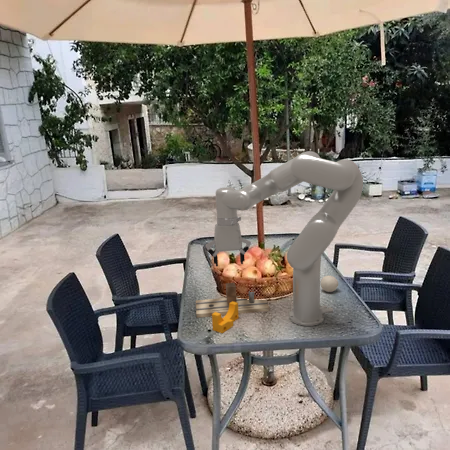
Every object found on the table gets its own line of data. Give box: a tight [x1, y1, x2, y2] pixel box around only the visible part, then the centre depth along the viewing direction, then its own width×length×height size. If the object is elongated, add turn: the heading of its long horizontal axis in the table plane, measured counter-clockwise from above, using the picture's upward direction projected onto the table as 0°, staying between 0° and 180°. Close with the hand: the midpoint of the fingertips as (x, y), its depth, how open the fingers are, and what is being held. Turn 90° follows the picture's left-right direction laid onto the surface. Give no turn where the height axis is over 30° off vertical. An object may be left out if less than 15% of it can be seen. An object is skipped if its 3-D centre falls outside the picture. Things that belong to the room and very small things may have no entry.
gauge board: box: [195, 297, 271, 319], centre depth 162 cm, size 28×12×2 cm, turn 95°
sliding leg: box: [225, 282, 237, 304], centre depth 160 cm, size 4×4×8 cm
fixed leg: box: [248, 290, 255, 303], centre depth 162 cm, size 2×2×4 cm
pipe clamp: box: [211, 301, 240, 335], centre depth 148 cm, size 12×4×6 cm, turn 142°
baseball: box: [320, 275, 339, 293], centre depth 171 cm, size 7×7×7 cm
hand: (229, 264), depth 157 cm, fingers open, 9 cm apart
